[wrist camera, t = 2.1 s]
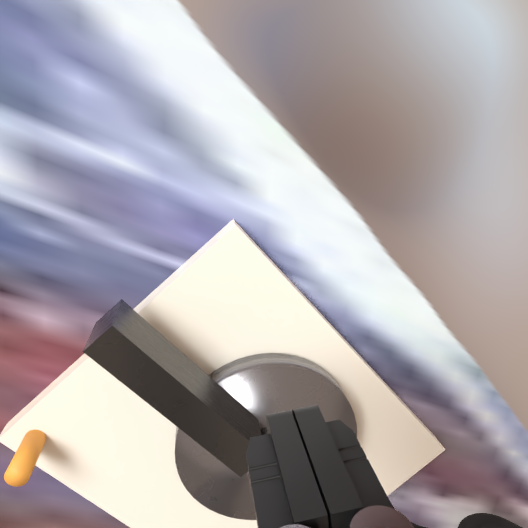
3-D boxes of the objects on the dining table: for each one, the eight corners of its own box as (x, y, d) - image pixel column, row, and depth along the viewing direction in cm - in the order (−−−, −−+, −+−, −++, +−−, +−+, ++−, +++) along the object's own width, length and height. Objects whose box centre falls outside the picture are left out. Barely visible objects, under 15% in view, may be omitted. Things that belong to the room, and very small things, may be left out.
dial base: (434, 435, 33) (470, 482, 28) (246, 585, 34) (254, 651, 30) (233, 218, 25) (242, 238, 21) (7, 423, 27) (-27, 479, 23)
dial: (381, 425, 29) (413, 477, 25) (256, 527, 30) (267, 593, 26) (188, 231, 23) (188, 255, 19) (41, 365, 24) (10, 417, 20)
